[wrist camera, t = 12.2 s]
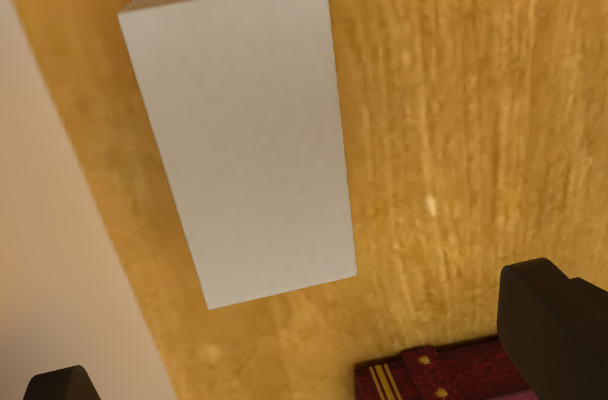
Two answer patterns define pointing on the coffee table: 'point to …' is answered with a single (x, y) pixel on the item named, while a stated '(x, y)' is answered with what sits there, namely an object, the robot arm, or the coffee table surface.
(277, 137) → the thin cream book
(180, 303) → the coffee table surface
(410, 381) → the decorative book
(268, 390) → the coffee table surface
